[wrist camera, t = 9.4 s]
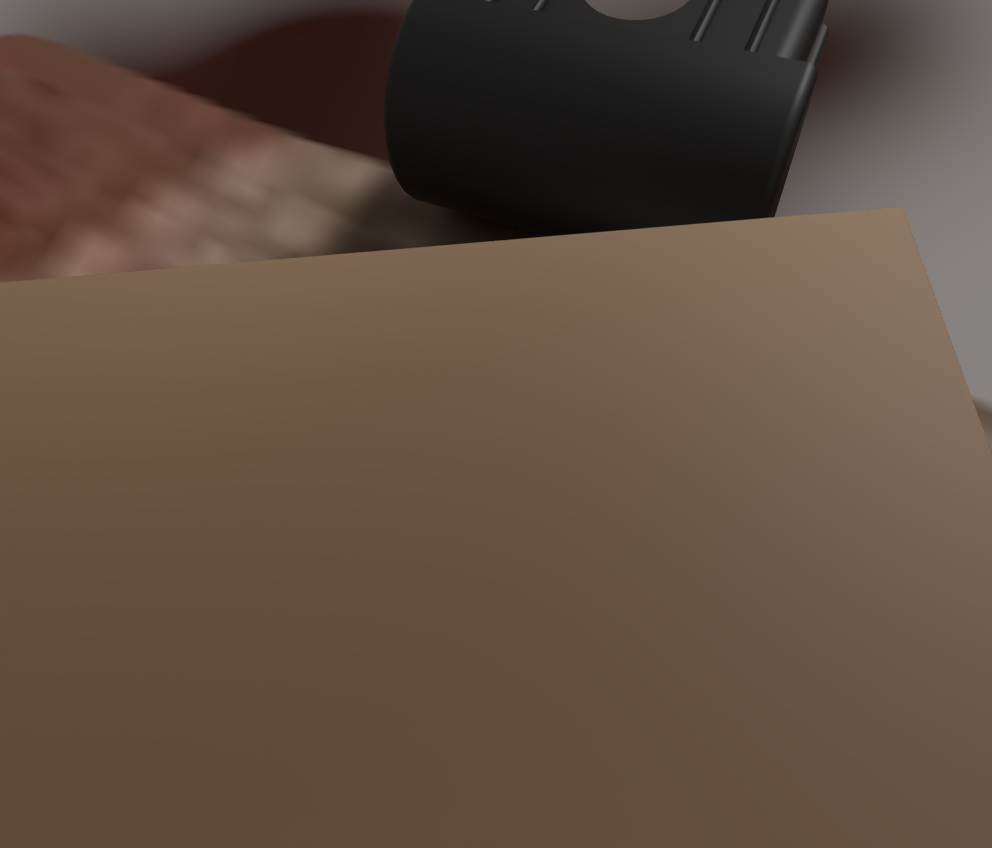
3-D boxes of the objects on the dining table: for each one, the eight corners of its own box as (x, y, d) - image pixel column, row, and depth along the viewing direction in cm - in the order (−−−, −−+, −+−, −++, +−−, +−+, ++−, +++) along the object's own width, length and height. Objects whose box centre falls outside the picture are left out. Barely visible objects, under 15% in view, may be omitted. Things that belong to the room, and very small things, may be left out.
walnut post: (688, 974, 13) (1692, 2388, 1) (420, 975, 13) (-796, 2054, 2) (656, 689, 15) (903, 204, 3) (426, 697, 15) (-68, 286, 4)
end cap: (412, 255, 24) (355, 65, 18) (505, 105, 27) (482, -102, 21) (727, 350, 21) (783, 163, 15) (794, 172, 24) (864, -45, 18)
